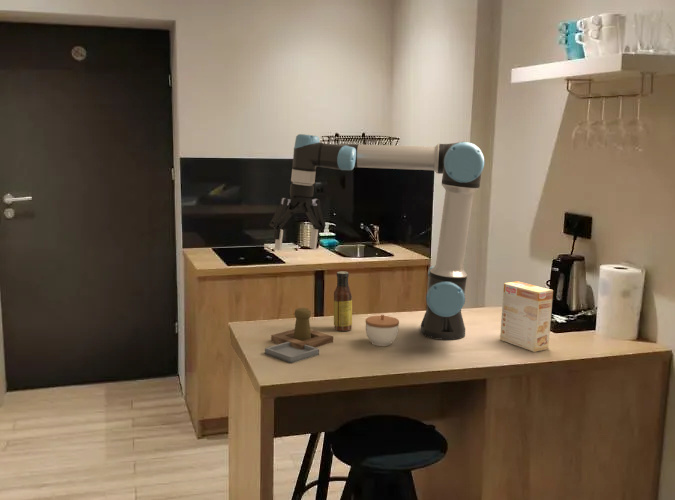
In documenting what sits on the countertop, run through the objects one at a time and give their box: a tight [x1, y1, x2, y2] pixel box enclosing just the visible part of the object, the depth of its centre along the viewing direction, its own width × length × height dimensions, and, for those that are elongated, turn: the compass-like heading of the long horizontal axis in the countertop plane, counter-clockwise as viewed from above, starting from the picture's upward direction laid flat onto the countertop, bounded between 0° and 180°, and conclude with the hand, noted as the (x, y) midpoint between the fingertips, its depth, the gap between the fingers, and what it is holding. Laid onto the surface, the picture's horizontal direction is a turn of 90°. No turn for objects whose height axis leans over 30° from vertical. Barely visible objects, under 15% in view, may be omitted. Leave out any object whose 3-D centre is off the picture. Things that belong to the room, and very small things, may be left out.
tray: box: [264, 342, 320, 364], centre depth 214 cm, size 12×12×2 cm
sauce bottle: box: [333, 270, 353, 332], centre depth 240 cm, size 6×6×20 cm
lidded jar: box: [365, 314, 400, 347], centre depth 227 cm, size 11×11×9 cm
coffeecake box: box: [499, 281, 554, 353], centre depth 229 cm, size 15×7×20 cm, turn 33°
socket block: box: [270, 328, 334, 350], centre depth 226 cm, size 14×14×2 cm
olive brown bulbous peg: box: [293, 307, 312, 341], centre depth 226 cm, size 6×6×11 cm
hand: (295, 249), depth 229 cm, fingers open, 13 cm apart
